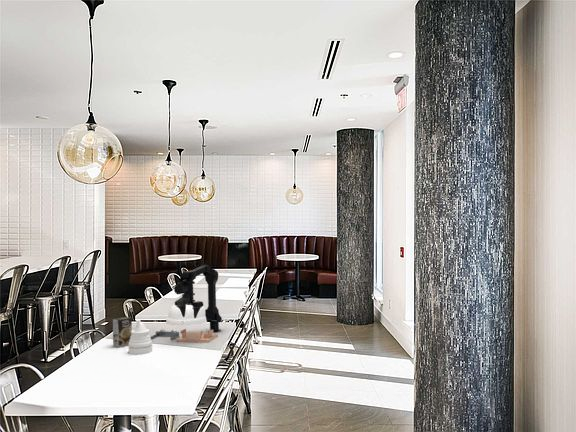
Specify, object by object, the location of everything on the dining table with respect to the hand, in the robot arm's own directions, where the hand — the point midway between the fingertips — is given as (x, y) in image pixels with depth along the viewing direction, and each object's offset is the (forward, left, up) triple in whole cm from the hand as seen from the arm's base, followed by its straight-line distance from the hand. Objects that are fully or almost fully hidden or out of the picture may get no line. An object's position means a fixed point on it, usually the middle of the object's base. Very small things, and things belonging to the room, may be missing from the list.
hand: (189, 317), depth 339 cm
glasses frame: (-3, -18, -13) cm, 23 cm away
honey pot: (+31, -16, -14) cm, 38 cm away
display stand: (-3, +4, -14) cm, 14 cm away
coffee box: (+19, -34, -14) cm, 41 cm away
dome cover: (-56, -26, -14) cm, 63 cm away
